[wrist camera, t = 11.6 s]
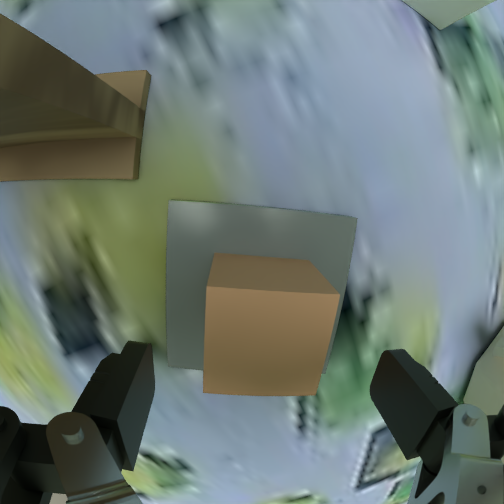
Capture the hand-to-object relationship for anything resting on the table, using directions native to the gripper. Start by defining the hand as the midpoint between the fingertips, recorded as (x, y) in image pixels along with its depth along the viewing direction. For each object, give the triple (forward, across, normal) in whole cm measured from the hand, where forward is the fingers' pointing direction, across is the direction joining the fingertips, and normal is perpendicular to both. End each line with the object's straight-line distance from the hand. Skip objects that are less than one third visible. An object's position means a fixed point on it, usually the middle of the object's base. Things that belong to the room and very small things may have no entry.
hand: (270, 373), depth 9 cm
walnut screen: (+8, +16, -9) cm, 20 cm away
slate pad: (+8, 0, 0) cm, 8 cm away
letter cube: (+7, 0, 0) cm, 7 cm away
